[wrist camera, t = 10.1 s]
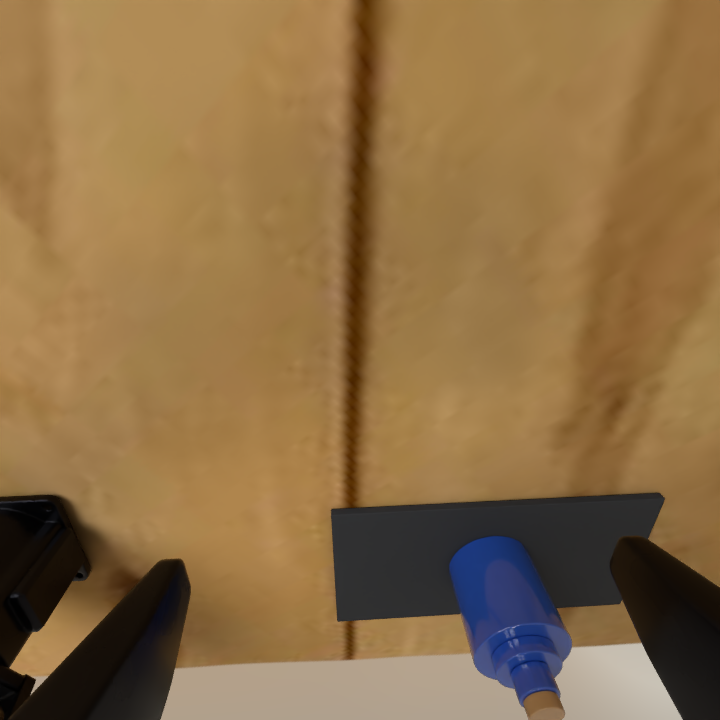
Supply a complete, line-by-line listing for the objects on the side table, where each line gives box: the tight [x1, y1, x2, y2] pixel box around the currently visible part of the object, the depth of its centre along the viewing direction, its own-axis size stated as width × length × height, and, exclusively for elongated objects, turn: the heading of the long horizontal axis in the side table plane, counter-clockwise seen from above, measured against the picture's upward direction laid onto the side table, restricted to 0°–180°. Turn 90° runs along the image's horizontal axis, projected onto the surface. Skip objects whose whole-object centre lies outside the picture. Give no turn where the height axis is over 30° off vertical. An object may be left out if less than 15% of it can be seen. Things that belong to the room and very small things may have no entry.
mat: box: [331, 493, 665, 622], centre depth 26 cm, size 20×10×1 cm, turn 91°
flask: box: [449, 536, 572, 720], centre depth 22 cm, size 5×5×8 cm
